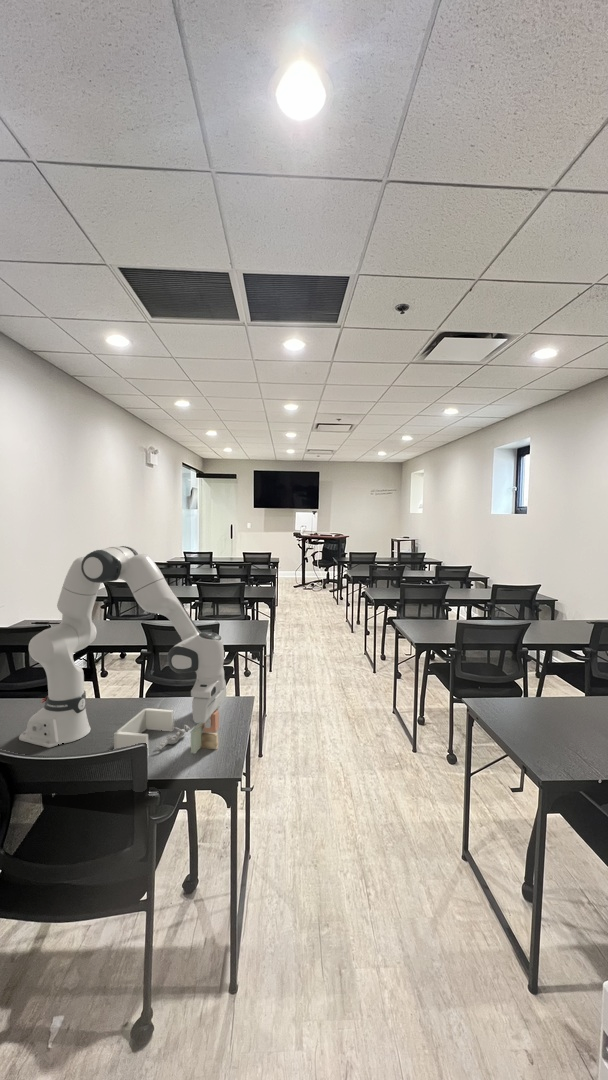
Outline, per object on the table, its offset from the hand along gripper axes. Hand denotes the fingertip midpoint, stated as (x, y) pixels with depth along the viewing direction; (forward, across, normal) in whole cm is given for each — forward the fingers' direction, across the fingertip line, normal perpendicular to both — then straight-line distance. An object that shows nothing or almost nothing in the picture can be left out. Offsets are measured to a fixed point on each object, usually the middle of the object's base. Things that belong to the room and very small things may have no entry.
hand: (211, 723), depth 147 cm
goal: (+8, 0, -24) cm, 25 cm away
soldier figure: (+8, -1, -14) cm, 16 cm away
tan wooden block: (+8, 0, -2) cm, 8 cm away
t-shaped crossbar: (+7, 0, -1) cm, 7 cm away
